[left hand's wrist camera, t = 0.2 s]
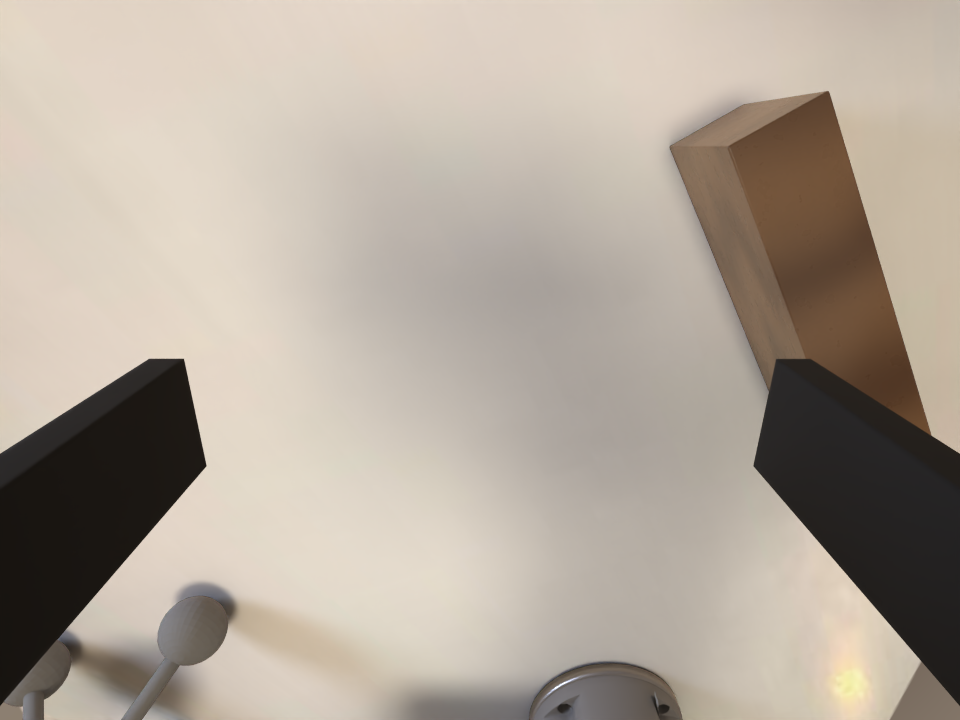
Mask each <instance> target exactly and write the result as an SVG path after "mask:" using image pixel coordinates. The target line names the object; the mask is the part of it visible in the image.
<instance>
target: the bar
mask: <svg viewBox="0 0 960 720" xmlns="http://www.w3.org/2000/svg"><path fill="white" fill-rule="evenodd" d="M670 149H671V152H672V154H673V157H674V159H675V161H676V164H677V166H678V169H679V171H680V174H681V176H682V179H683V181H684V184H685V186H686V188H687V191H688V193H689V196H690V198H691V201H692V203H693V206H694V208H695V211H696V213H697V215H698V218H699V220H700V223H701V225H702V228H703V230H704V233H705V235H706V238H707V240H708V242H709V245H710V247H711V250H712V252H713V255H714V257H715V260H716V262H717V265H718V267H719V269H720V272H721V274H722V277H723V279H724V282H725V284H726V287H727V289H728V292H729V294H730V296H731V299H732V301H733V304H734V306H735V309H736V311H737V314H738V316H739V319H740V321H741V323H742V326H743V328H744V331H745V333H746V336H747V338H748V341H749V343H750V346H751V348H752V350H753V353H754V355H755V358H756V360H757V363H758V365H759V368H760V370H761V373H762V375H763V377H764V380H765V382H766V385H767V387H768V390H770V385H771V381H772V376H773V371H774V367H775V362H776V359H812V360H813V361H815V362H816V363H818V364H820V365H821V366H823V367H824V368H826V369H827V370H829V371H831V372H832V373H834V374H835V375H837V376H838V377H840V378H842V379H843V380H845V381H846V382H848V383H849V384H851V385H853V386H854V387H856V388H857V389H859V390H860V391H862V392H864V393H865V394H867V395H868V396H870V397H871V398H873V399H874V400H876V401H878V402H879V403H881V404H882V405H884V406H885V407H887V408H889V409H890V410H892V411H893V412H895V413H896V414H898V415H900V416H901V417H903V418H904V419H906V420H907V421H909V422H911V423H912V424H914V425H915V426H917V427H918V428H920V429H922V430H923V431H925V432H926V433H928V434H929V435H931V432H930V429H929V426H928V422H927V419H926V416H925V412H924V409H923V405H922V402H921V399H920V395H919V392H918V389H917V385H916V382H915V379H914V375H913V372H912V369H911V365H910V362H909V358H908V355H907V352H906V348H905V345H904V342H903V338H902V335H901V332H900V328H899V325H898V322H897V318H896V315H895V311H894V308H893V305H892V301H891V298H890V295H889V291H888V288H887V285H886V281H885V278H884V275H883V271H882V268H881V264H880V261H879V258H878V254H877V251H876V248H875V244H874V241H873V238H872V234H871V231H870V228H869V224H868V221H867V217H866V214H865V211H864V207H863V204H862V201H861V197H860V194H859V191H858V187H857V184H856V181H855V177H854V174H853V170H852V167H851V164H850V160H849V157H848V154H847V150H846V147H845V144H844V140H843V137H842V134H841V130H840V127H839V123H838V120H837V117H836V113H835V110H834V107H833V103H832V100H831V97H830V93H829V91H825V92H819V93H813V94H806V95H800V96H794V97H788V98H781V99H775V100H769V101H763V102H756V103H750V104H744V105H742V106H740V107H739V108H737V109H735V110H733V111H731V112H730V113H728V114H726V115H724V116H723V117H721V118H719V119H717V120H716V121H714V122H712V123H710V124H709V125H707V126H705V127H703V128H701V129H700V130H698V131H696V132H694V133H693V134H691V135H689V136H687V137H686V138H684V139H682V140H680V141H678V142H677V143H675V144H673V145H671V146H670Z"/></svg>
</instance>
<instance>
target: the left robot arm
mask: <svg viewBox="0 0 960 720" xmlns="http://www.w3.org/2000/svg"><path fill="white" fill-rule="evenodd" d="M205 467H206V461H205V456H204V452H203V447H202V442H201V438H200V433H199V428H198V423H197V419H196V414H195V409H194V404H193V400H192V395H191V390H190V385H189V381H188V376H187V371H186V367H185V362H184V359H148V360H147V361H145V362H144V363H142V364H140V365H139V366H137V367H136V368H134V369H133V370H131V371H129V372H128V373H126V374H125V375H123V376H122V377H120V378H118V379H117V380H115V381H114V382H112V383H111V384H109V385H107V386H106V387H104V388H103V389H101V390H100V391H98V392H96V393H95V394H93V395H92V396H90V397H89V398H87V399H86V400H84V401H82V402H81V403H79V404H78V405H76V406H75V407H73V408H71V409H70V410H68V411H67V412H65V413H64V414H62V415H60V416H59V417H57V418H56V419H54V420H53V421H51V422H49V423H48V424H46V425H45V426H43V427H42V428H40V429H38V430H37V431H35V432H34V433H32V434H31V435H29V436H27V437H26V438H24V439H23V440H21V441H20V442H18V443H16V444H15V445H13V446H12V447H10V448H9V449H7V450H5V451H4V452H2V453H1V454H0V705H1V704H2V703H3V702H4V701H5V700H6V698H7V697H8V696H9V695H10V694H11V693H12V691H13V690H14V689H15V688H16V687H17V686H18V684H19V683H20V682H21V681H22V680H23V679H24V678H25V676H26V675H27V674H28V673H29V672H30V671H31V669H32V668H33V667H34V666H35V665H36V664H37V662H38V661H39V660H40V659H41V658H42V657H43V655H44V654H45V653H46V652H47V651H48V650H49V648H50V647H51V646H52V645H53V644H54V643H55V641H56V640H57V639H58V638H59V637H60V636H61V635H62V633H63V632H64V631H65V630H66V629H67V628H68V626H69V625H70V624H71V623H72V622H73V621H74V619H75V618H76V617H77V616H78V615H79V614H80V612H81V611H82V610H83V609H84V608H85V607H86V605H87V604H88V603H89V602H90V601H91V600H92V599H93V597H94V596H95V595H96V594H97V593H98V592H99V590H100V589H101V588H102V587H103V586H104V585H105V583H106V582H107V581H108V580H109V579H110V578H111V576H112V575H113V574H114V573H115V572H116V571H117V569H118V568H119V567H120V566H121V565H122V564H123V562H124V561H125V560H126V559H127V558H128V557H129V556H130V554H131V553H132V552H133V551H134V550H135V549H136V547H137V546H138V545H139V544H140V543H141V542H142V540H143V539H144V538H145V537H146V536H147V535H148V533H149V532H150V531H151V530H152V529H153V528H154V526H155V525H156V524H157V523H158V522H159V521H160V519H161V518H162V517H163V516H164V515H165V514H166V513H167V511H168V510H169V509H170V508H171V507H172V506H173V504H174V503H175V502H176V501H177V500H178V499H179V497H180V496H181V495H182V494H183V493H184V492H185V490H186V489H187V488H188V487H189V486H190V485H191V483H192V482H193V481H194V480H195V479H196V478H197V477H198V475H199V474H200V473H201V472H202V471H203V470H204V468H205ZM754 467H755V468H756V470H757V471H758V472H759V473H760V474H761V475H762V477H763V478H764V479H765V480H766V481H767V482H768V483H769V485H770V486H771V487H772V488H773V489H774V490H775V492H776V493H777V494H778V495H779V496H780V497H781V499H782V500H783V501H784V502H785V503H786V504H787V506H788V507H789V508H790V509H791V510H792V511H793V513H794V514H795V515H796V516H797V517H798V518H799V519H800V521H801V522H802V523H803V524H804V525H805V526H806V528H807V529H808V530H809V531H810V532H811V533H812V535H813V536H814V537H815V538H816V539H817V540H818V542H819V543H820V544H821V545H822V546H823V547H824V549H825V550H826V551H827V552H828V553H829V554H830V556H831V557H832V558H833V559H834V560H835V561H836V562H837V564H838V565H839V566H840V567H841V568H842V569H843V571H844V572H845V573H846V574H847V575H848V576H849V578H850V579H851V580H852V581H853V582H854V583H855V585H856V586H857V587H858V588H859V589H860V590H861V592H862V593H863V594H864V595H865V596H866V597H867V599H868V600H869V601H870V602H871V603H872V604H873V605H874V607H875V608H876V609H877V610H878V611H879V612H880V614H881V615H882V616H883V617H884V618H885V619H886V621H887V622H888V623H889V624H890V625H891V626H892V628H893V629H894V630H895V631H896V632H897V633H898V635H899V636H900V637H901V638H902V639H903V640H904V642H905V643H906V644H907V645H908V646H909V647H910V648H911V650H912V651H913V652H914V653H915V654H916V655H917V657H918V658H919V659H920V660H921V661H922V662H923V664H924V665H925V666H926V667H927V668H928V669H929V670H930V672H931V673H932V674H933V675H934V676H935V677H936V679H937V680H938V681H939V682H940V683H941V684H942V686H943V687H944V688H945V689H946V690H947V691H948V693H949V694H950V695H951V696H952V697H953V698H954V700H955V701H956V702H957V703H958V704H959V705H960V454H959V453H958V452H956V451H955V450H953V449H951V448H950V447H948V446H947V445H945V444H944V443H942V442H940V441H939V440H937V439H936V438H934V437H933V436H931V435H929V434H928V433H926V432H925V431H923V430H922V429H920V428H918V427H917V426H915V425H914V424H912V423H911V422H909V421H907V420H906V419H904V418H903V417H901V416H900V415H898V414H896V413H895V412H893V411H892V410H890V409H889V408H887V407H885V406H884V405H882V404H881V403H879V402H878V401H876V400H874V399H873V398H871V397H870V396H868V395H867V394H865V393H864V392H862V391H860V390H859V389H857V388H856V387H854V386H853V385H851V384H849V383H848V382H846V381H845V380H843V379H842V378H840V377H838V376H837V375H835V374H834V373H832V372H831V371H829V370H827V369H826V368H824V367H823V366H821V365H820V364H818V363H816V362H815V361H813V360H812V359H776V362H775V367H774V371H773V376H772V381H771V385H770V390H769V395H768V400H767V404H766V409H765V414H764V419H763V423H762V428H761V433H760V438H759V442H758V447H757V452H756V456H755V461H754ZM529 720H682V715H681V711H680V708H679V706H678V703H677V700H676V697H675V695H674V693H673V692H672V690H671V688H670V687H669V686H668V685H667V684H666V683H665V682H664V681H663V680H662V679H660V678H659V677H658V676H656V675H654V674H653V673H651V672H648V671H646V670H644V669H641V668H638V667H634V666H630V665H624V664H611V663H610V664H595V665H589V666H585V667H581V668H577V669H574V670H572V671H569V672H567V673H565V674H563V675H561V676H559V677H557V678H556V679H554V680H553V681H551V682H550V683H549V684H547V685H546V686H545V687H544V688H543V689H542V690H541V691H540V692H539V694H538V695H537V697H536V698H535V700H534V702H533V704H532V706H531V710H530V715H529Z"/></svg>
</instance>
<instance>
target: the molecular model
mask: <svg viewBox="0 0 960 720" xmlns="http://www.w3.org/2000/svg"><path fill="white" fill-rule="evenodd" d="M227 629H228V619H227V614H226V612H225V610H224V608H223V606H222V605H221V604H220V603H219V602H217V601H216V600H214V599H212V598H209V597H206V596H195V597H190V598H187V599H184V600H182V601H180V602H179V603H177V604H176V605H175V606H173V607H172V608H171V609H170V610H169V611H168V612H167V614H166V615H165V616H164V618H163V620H162V622H161V624H160V627H159V630H158V645H159V649H160V651H161V653H162V654H163V656H164V657H165V659H164V660H163V662H162V663H161V665H160V666H159V667H158V669H157V670H156V672H155V673H154V674H153V676H152V677H151V679H150V680H149V681H148V683H147V684H146V686H145V687H144V688H143V690H142V691H141V693H140V694H139V695H138V697H137V698H136V700H135V701H134V703H133V704H132V705H131V707H130V708H129V710H128V711H127V712H126V714H125V715H124V717H123V718H122V719H121V720H142V719H143V717H144V716H145V715H146V713H147V712H148V710H149V709H150V707H151V706H152V704H153V703H154V702H155V700H156V699H157V697H158V696H159V694H160V693H161V691H162V690H163V689H164V687H165V686H166V684H167V683H168V681H169V680H170V679H171V677H172V676H173V674H174V673H175V671H176V670H177V668H178V667H179V666H180V665H194V664H197V663H200V662H202V661H204V660H206V659H208V658H209V657H211V656H212V655H213V654H214V653H215V652H216V651H217V650H218V649H219V647H220V646H221V644H222V643H223V641H224V639H225V636H226V633H227ZM70 666H71V656H70V652H69V650H68V649H67V647H66V646H65V645H64V644H63V643H62V642H60V641H59V640H56V641H55V643H54V644H53V645H52V646H51V647H50V648H49V650H48V651H47V652H46V653H45V654H44V655H43V657H42V658H41V659H40V660H39V661H38V662H37V664H36V665H35V666H34V667H33V668H32V669H31V671H30V672H29V673H28V674H27V675H26V676H25V678H24V679H23V680H22V681H21V682H20V683H19V684H18V686H17V687H16V688H15V689H14V690H13V691H12V693H11V694H10V695H9V696H8V697H7V698H6V700H5V701H4V703H6V704H8V705H11V706H17V707H21V706H23V720H44V699H46V698H48V697H50V696H51V695H52V694H53V693H55V692H56V691H57V690H58V689H59V688H60V686H61V685H62V684H63V682H64V681H65V679H66V678H67V676H68V673H69V671H70Z"/></svg>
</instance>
